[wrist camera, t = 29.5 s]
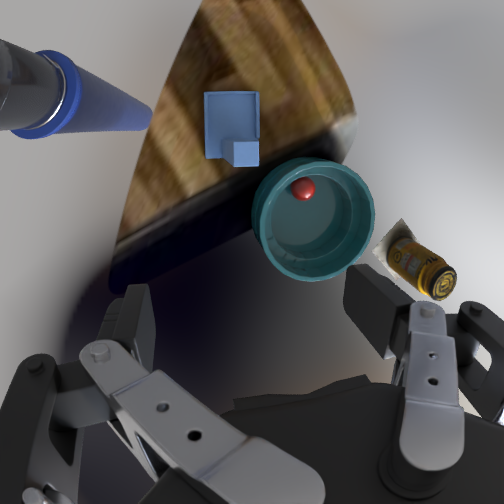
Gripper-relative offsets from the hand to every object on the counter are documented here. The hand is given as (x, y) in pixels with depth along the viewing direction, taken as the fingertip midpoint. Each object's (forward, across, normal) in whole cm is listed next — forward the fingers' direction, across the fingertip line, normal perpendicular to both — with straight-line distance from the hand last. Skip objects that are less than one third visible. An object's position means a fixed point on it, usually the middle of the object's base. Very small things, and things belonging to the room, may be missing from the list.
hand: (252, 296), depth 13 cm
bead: (+28, -12, +1) cm, 30 cm away
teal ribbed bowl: (+30, -13, +5) cm, 33 cm away
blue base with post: (+30, -3, -7) cm, 31 cm away
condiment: (+30, -30, +12) cm, 44 cm away
